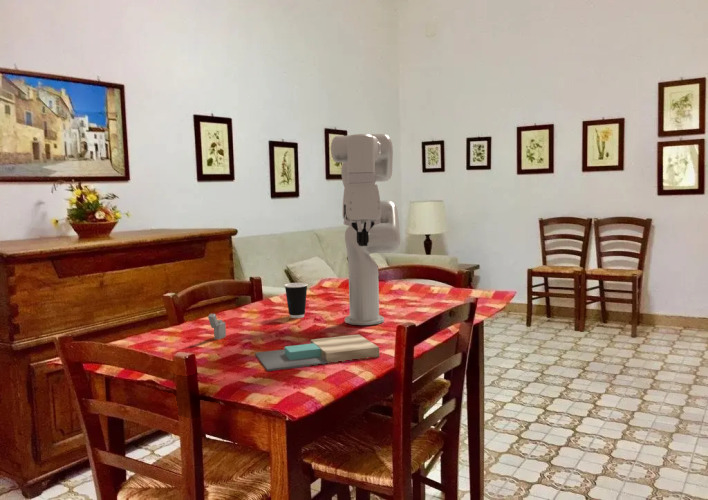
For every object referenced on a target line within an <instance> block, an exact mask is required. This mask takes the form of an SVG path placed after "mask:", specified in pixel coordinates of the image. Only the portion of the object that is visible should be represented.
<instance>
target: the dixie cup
mask: <svg viewBox="0 0 708 500" xmlns="http://www.w3.org/2000/svg"><path fill="white" fill-rule="evenodd" d="M283 285H284V286H283V287H284V288H285V295H286V302H287V309H288V315H289V318H291V319H301V318H304V317H305V314H306V308H307V307H306V306H307V305H306V303H307V290H308V286H309V284H308V283H307V282H306V283H305V282H290V283H286V284H283Z"/></svg>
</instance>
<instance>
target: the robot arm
mask: <svg viewBox="0 0 708 500" xmlns="http://www.w3.org/2000/svg"><path fill="white" fill-rule="evenodd" d="M330 153H331V158H332V160H333V161H334V162H335V163H338V164H339V163H341V168H340V169H341V172H340V173H341V180H342V184H343V187H344V188H343V196H342V200H343V201H342V219H343V225H344V226H348V227H347V228H346V229H345V232H344V242H345V248H346V254H347V263H348V264H347V266H348V294H349V295H348V297H349V298H348V299H349V301H348V303H349V305H348V306H349V315H347V316H346V317H345V318H344V322H345V323H346V324H348V325H352V326H373V325H378V324H381V323H383V322H384V321H385V317H384V316H382V315H380V304H379V303H380V301H379V300H380V299H379V298H380V296H379V294H380V293H379V292H380V291H379V290H380V288H379V286H380V285H379V266H378V264H377V263H376V261H375V260H374V259H373V258H372V257H371V254H388V253H394V252H395V253H396V252H397V251H398V250H399V248H400V245H401V232H400V220H399V211H398V206H397V205H396V204H395V203H394V202H393V201H391V200H381V198H380V197H381V196H380V191H379V187H378V184H376V183H377V182H378V183H379V182H382V183H383V182H387V181H389V180H390V179H391V178H392V175H393V160H394V159H393V157H394V156H393V155H394V151H393V141H392V139H391V137H390V136H389V135H388V134H386V133H359V134H357V133H356V134H350V135H348V134H347V135H342V136H341V135H338V136H334V137H333V138H332V140H331V144H330Z"/></svg>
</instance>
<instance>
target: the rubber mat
mask: <svg viewBox="0 0 708 500" xmlns="http://www.w3.org/2000/svg"><path fill="white" fill-rule="evenodd" d="M254 354H255V356H256V357H257V359H258V360H259V362H260V363H261V364H262V366H263V367H264V368H265V370H266V371H267V372H272V371H280V370H281V369H282V370H291V369H297V368H304V367H303V366H306V367H311V366H310V365H314V366H319V365H318V364H322V365H327V364H326V363H328V362H327V361H326V360H325V359H324V358H323V357H322V356H320V357H312V358H304V359H295V360H290V359H289V358H288V357H287V356H286V355H285V348H284V349H276V350H268V351H267V350H266V351H259V352H254ZM328 364H329V363H328Z"/></svg>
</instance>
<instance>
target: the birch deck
mask: <svg viewBox="0 0 708 500" xmlns="http://www.w3.org/2000/svg"><path fill="white" fill-rule="evenodd" d="M312 343H314V344H316V345H317V346H318V347H319V348H320V349H321V356H322V357H323V358H324V359H325V360H326V361H327V362H328V364H330V363H329V362H334V363H339V362H338V361H342V362H346V361H345V360H350V361H353V360H352V359H358V360H360V359H359V358H366V359H368V358H367V357H374V358H380V347H379V346H378V345H376V344H375V343H374V342H371V341H370V340H369V339H368V338H365V337H364V336H363V335H361V334H359V333H358V334H350V335H340V336H334V337H333V336H332V337H322V338H315V339H310V344H312Z"/></svg>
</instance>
